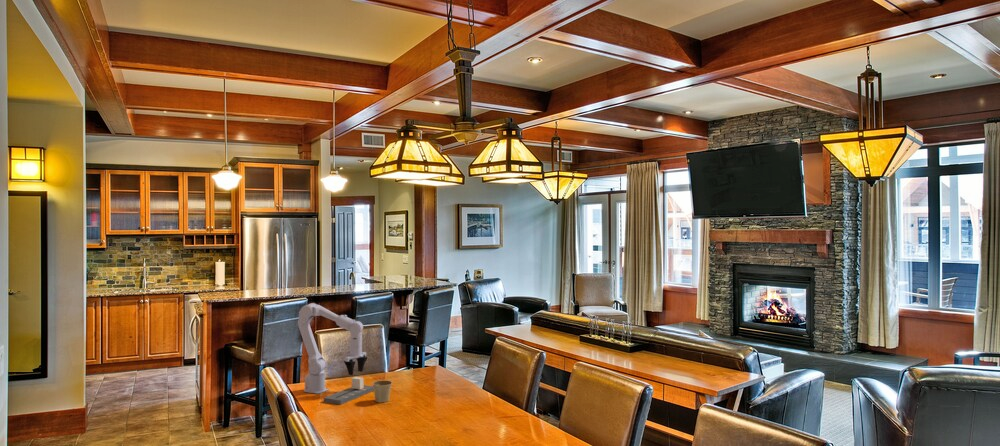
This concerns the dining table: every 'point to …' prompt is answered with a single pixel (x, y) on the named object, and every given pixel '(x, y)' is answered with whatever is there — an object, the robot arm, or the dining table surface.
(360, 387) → the fader
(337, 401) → the console
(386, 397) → the flower pot
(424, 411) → the dining table surface
